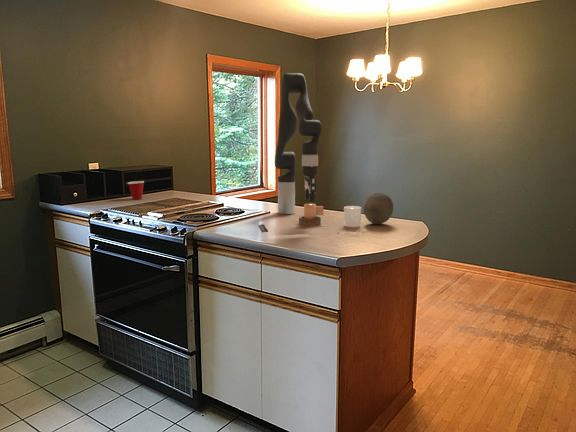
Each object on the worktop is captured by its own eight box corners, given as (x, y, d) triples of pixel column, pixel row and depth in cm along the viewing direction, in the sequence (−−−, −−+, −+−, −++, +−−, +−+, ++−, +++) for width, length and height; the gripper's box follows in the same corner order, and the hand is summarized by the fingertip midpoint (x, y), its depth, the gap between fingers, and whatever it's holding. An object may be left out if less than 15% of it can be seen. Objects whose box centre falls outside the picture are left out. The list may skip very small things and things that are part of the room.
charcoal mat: (258, 225, 217) (258, 224, 216) (283, 224, 219) (283, 223, 219) (262, 231, 203) (262, 230, 203) (289, 230, 205) (289, 229, 205)
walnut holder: (292, 224, 219) (292, 215, 219) (320, 223, 222) (320, 214, 221) (297, 230, 206) (297, 220, 205) (328, 229, 208) (328, 219, 207)
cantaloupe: (357, 223, 222) (358, 192, 220) (382, 221, 227) (383, 191, 225) (372, 228, 209) (373, 195, 207) (399, 226, 214) (400, 194, 212)
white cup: (359, 227, 213) (359, 205, 211) (362, 230, 205) (363, 208, 204) (342, 227, 213) (342, 205, 211) (344, 230, 205) (345, 208, 203)
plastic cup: (128, 198, 312) (127, 181, 310) (145, 197, 315) (144, 180, 313) (128, 200, 302) (126, 182, 300) (145, 200, 305) (144, 182, 303)
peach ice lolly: (305, 224, 210) (305, 205, 209) (302, 222, 216) (302, 203, 214) (324, 224, 212) (324, 205, 210) (321, 222, 217) (321, 203, 216)
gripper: (298, 164, 215) (298, 198, 218) (305, 165, 201) (305, 202, 204) (314, 164, 216) (314, 198, 219) (321, 165, 203) (321, 202, 205)
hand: (309, 200), depth 211 cm, fingers open, 8 cm apart
